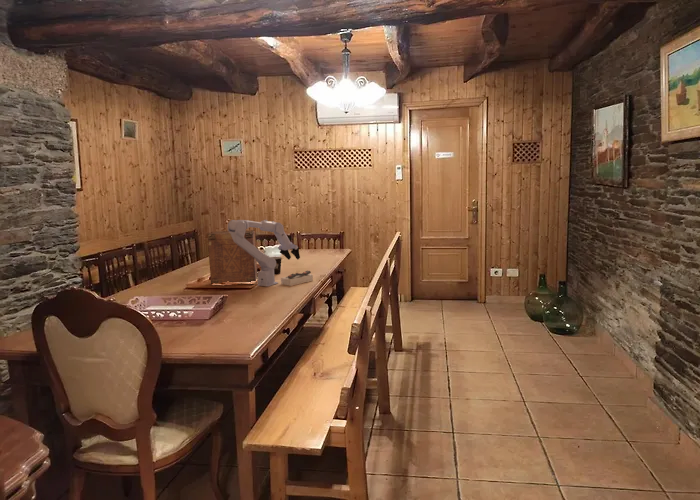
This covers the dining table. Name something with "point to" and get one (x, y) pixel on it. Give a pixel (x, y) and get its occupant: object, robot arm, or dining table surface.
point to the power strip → (296, 280)
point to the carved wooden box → (230, 258)
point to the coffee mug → (277, 265)
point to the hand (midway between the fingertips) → (294, 258)
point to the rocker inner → (292, 276)
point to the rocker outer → (306, 272)
